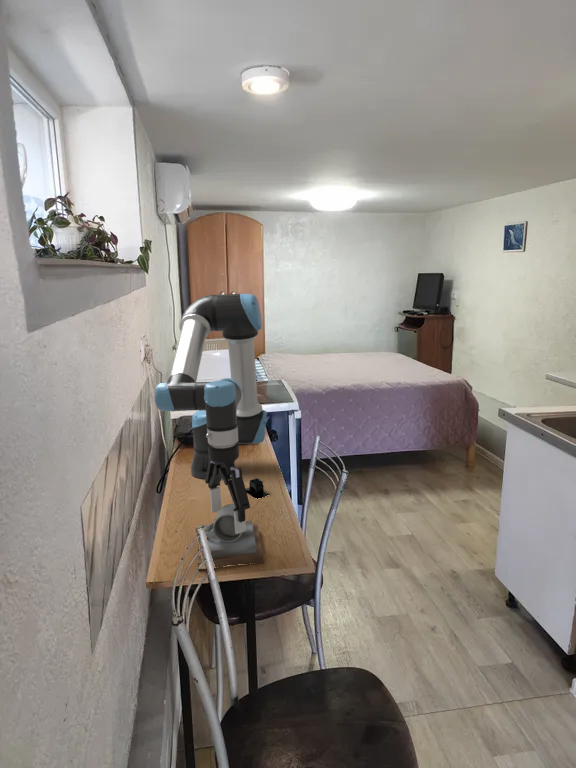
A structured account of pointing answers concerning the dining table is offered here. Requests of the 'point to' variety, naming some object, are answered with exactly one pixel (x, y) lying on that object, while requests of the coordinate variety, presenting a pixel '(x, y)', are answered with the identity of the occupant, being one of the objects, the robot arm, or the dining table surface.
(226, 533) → the ceramic mug
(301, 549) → the dining table surface
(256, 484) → the black angular block
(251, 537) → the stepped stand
